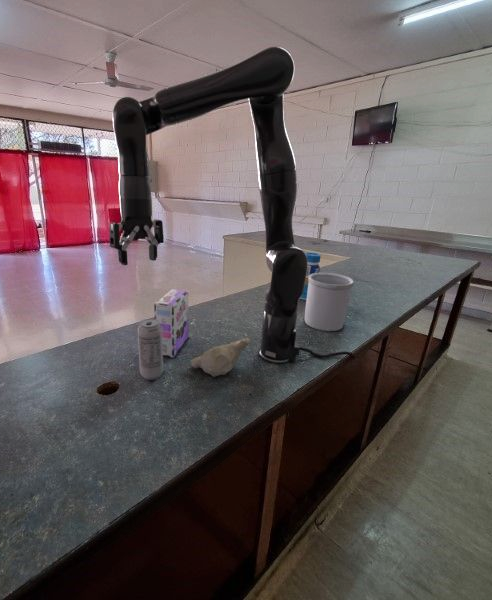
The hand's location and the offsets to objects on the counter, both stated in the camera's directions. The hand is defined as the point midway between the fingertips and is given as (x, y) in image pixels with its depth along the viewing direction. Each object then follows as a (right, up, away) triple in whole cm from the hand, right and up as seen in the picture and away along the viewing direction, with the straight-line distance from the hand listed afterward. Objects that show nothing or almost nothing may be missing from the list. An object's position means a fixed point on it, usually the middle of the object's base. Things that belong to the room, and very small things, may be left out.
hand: (139, 262), depth 81 cm
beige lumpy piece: (+22, -29, +6) cm, 36 cm away
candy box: (+7, -24, +17) cm, 30 cm away
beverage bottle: (+62, -9, +62) cm, 88 cm away
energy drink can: (+3, -30, +2) cm, 30 cm away
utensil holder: (+61, -19, +35) cm, 73 cm away
